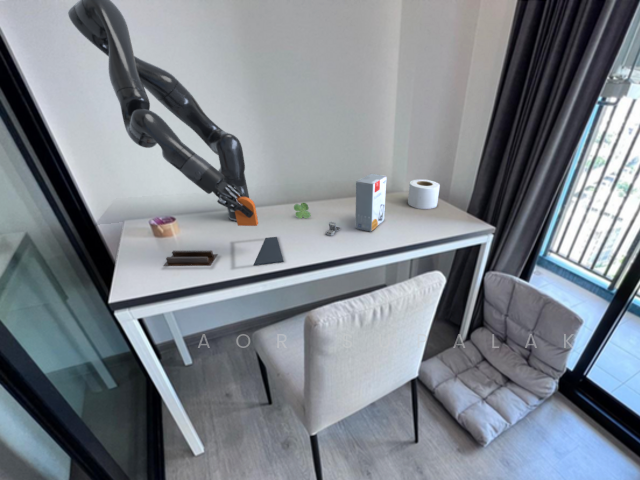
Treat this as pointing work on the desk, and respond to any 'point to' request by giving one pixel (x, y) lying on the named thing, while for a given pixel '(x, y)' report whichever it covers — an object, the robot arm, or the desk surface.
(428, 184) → the white paper roll
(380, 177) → the hard drive box
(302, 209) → the green clover
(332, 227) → the strap clip
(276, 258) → the felt mat
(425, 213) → the desk surface
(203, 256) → the holder
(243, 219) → the orange curved block
